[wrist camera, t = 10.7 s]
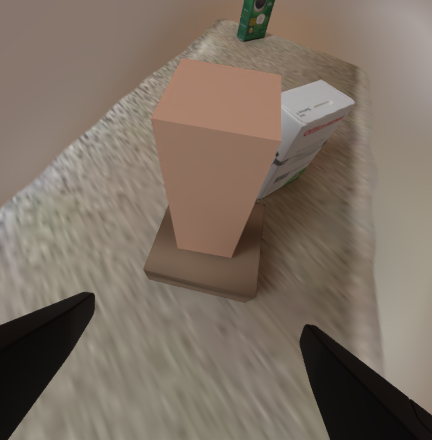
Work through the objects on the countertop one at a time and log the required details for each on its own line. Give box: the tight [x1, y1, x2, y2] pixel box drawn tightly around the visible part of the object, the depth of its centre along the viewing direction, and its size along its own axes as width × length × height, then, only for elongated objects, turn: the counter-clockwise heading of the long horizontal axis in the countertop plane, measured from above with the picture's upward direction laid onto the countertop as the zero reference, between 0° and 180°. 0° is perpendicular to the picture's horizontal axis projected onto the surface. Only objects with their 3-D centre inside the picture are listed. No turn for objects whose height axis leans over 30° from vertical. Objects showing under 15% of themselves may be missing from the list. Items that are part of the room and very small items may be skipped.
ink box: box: [257, 80, 355, 199], centre depth 25 cm, size 9×5×12 cm, turn 126°
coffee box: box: [237, 0, 275, 41], centre depth 47 cm, size 8×3×13 cm, turn 129°
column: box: [151, 58, 281, 258], centre depth 15 cm, size 5×5×13 cm
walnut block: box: [143, 202, 265, 303], centre depth 22 cm, size 10×10×4 cm
